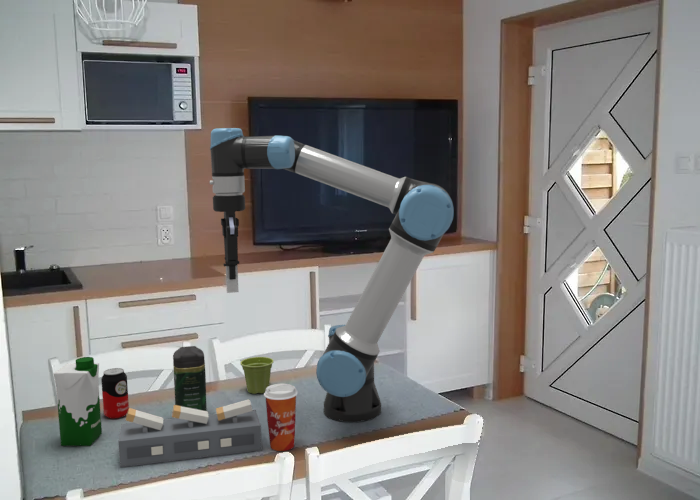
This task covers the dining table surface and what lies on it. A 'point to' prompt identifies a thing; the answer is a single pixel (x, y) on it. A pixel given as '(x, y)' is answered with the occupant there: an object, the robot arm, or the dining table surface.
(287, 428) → the paper cup
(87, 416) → the milk carton
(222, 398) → the dining table surface
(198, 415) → the rocker
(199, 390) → the coffee jar
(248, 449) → the console
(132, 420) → the rocker
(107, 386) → the beverage can
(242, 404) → the rocker
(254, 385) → the plant pot
